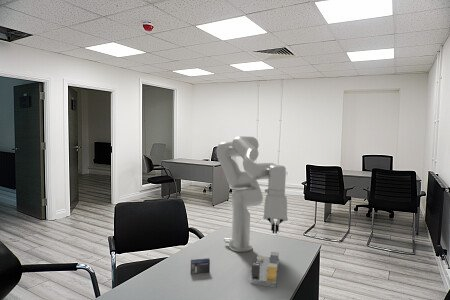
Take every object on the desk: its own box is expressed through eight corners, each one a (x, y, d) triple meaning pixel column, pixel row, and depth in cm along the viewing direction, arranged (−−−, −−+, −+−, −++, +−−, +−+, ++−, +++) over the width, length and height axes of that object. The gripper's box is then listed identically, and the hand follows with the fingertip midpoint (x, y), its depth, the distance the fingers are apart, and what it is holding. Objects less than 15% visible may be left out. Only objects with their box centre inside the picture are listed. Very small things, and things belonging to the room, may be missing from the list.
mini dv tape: (191, 274, 129) (191, 261, 129) (190, 273, 131) (190, 259, 130) (209, 272, 132) (209, 259, 131) (208, 271, 133) (209, 258, 133)
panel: (250, 283, 123) (251, 275, 123) (257, 259, 146) (258, 252, 146) (275, 287, 121) (275, 278, 121) (278, 262, 144) (279, 254, 144)
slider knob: (251, 276, 124) (252, 265, 124) (252, 272, 127) (253, 262, 127) (258, 277, 124) (259, 266, 123) (259, 273, 127) (260, 263, 126)
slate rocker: (268, 265, 135) (268, 263, 135) (270, 253, 144) (270, 251, 144) (278, 266, 134) (278, 264, 134) (279, 255, 143) (279, 252, 143)
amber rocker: (265, 278, 123) (265, 276, 123) (267, 265, 132) (267, 262, 131) (276, 280, 122) (276, 277, 122) (277, 266, 131) (278, 264, 130)
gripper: (258, 193, 133) (257, 233, 134) (293, 195, 129) (291, 237, 130) (260, 189, 140) (259, 228, 141) (293, 192, 136) (292, 231, 138)
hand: (274, 232), depth 136 cm, fingers closed
